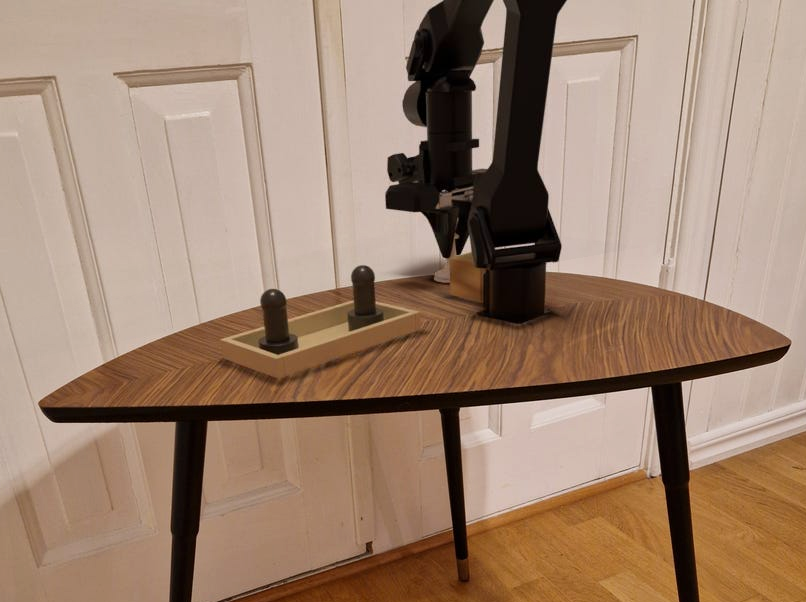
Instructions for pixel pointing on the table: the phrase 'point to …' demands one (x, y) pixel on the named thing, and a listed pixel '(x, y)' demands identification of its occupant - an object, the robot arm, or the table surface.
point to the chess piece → (446, 265)
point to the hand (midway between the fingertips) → (451, 256)
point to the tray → (319, 339)
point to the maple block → (466, 277)
